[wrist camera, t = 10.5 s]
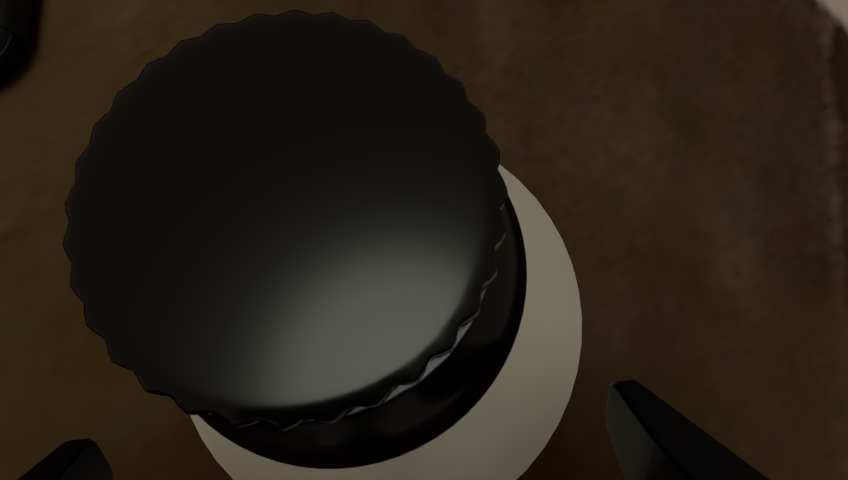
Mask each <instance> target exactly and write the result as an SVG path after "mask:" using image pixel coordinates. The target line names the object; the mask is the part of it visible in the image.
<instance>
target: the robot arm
mask: <svg viewBox="0 0 848 480" xmlns="http://www.w3.org/2000/svg"><path fill="white" fill-rule="evenodd" d="M605 421H606V426H607V429H608V432H609V435H610V438H611V441H612V444H613V447H614V450H615V453H616V456H617V459H618V462H619V465H620V468H621V471H622V474H623V477H624V480H769V479H768V478H767V477H765V476H764V475H762V474H761V473H760V472H758V471H757V470H756V469H754V468H753V467H752V466H750V465H749V464H748V463H746V462H745V461H744V460H742V459H741V458H740V457H738V456H737V455H736V454H734V453H733V452H731V451H730V450H729V449H727V448H726V447H725V446H723V445H722V444H721V443H719V442H718V441H717V440H715V439H714V438H713V437H711V436H710V435H709V434H707V433H706V432H705V431H703V430H702V429H701V428H699V427H698V426H696V425H695V424H694V423H692V422H691V421H690V420H688V419H687V418H686V417H684V416H683V415H682V414H680V413H679V412H678V411H676V410H675V409H674V408H672V407H671V406H670V405H668V404H667V403H665V402H664V401H663V400H661V399H660V398H659V397H657V396H656V395H655V394H653V393H652V392H651V391H649V390H648V389H647V388H645V387H644V386H643V385H641V384H640V383H638V382H636V381H634V380H627V381H618V382H613V383H612V384H611V385H610V388H609V393H608V399H607V405H606V411H605ZM18 480H113V469H112V466H111V464H110V463H109V461H108V459H107V458H106V456H105V454H104V453H103V451H102V449H101V448H100V446H99V444H98V443H97V442H96V441H95V440H93V439H90V438H87V439H78V440H70V441H67V442H65V443H63V444H62V445H60V446H59V447H58V448H56V449H55V450H54V451H53V452H51V453H50V454H49V455H48V456H47V457H45V458H44V459H43V460H42V461H40V462H39V463H38V464H37V465H35V466H34V467H33V468H32V469H30V470H29V471H28V472H27V473H25V474H24V475H23V476H22V477H20V478H19V479H18Z"/></svg>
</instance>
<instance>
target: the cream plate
mask: <svg viewBox="0 0 848 480" xmlns="http://www.w3.org/2000/svg"><path fill="white" fill-rule="evenodd" d="M498 170H499V172H500V174H501V176H502V178H503V180H504V182H505V184H506V187H507V190H508V196H509V198H510V200H511V202H512V204H513V206H514V209H515V212H516V214H517V217H518V220H519V223H520V227H521V231H522V235H523V239H524V246H525V252H526V262H527V289H526V299H525V306H524V312H523V316H522V320H521V324H520V328H519V332H518V334H517V337H516V340H515V343H514V345H513V348H512V350H511V352H510V354H509V357H508V359H507V361H506V363H505V365H504V367H503V368H502V370H501V372H500V373H499V375H498V376H497V378H496V380H495V381H494V383H493V384H492V386H491V387H490V388H489V390H488V391H487V392H486V393H485V395H484V396H483V397H482V399H481V400H480V401H479V402H478V403H477V404H476V405H475V406H474V407H473V408H472V409H471V410H470V411H469V413H468V414H466V415H465V416H464V417H463V418H462V419H461V420H460V421H458V422H457V423H456V424H455V425H454V426H453V427H451V428H450V429H449V430H447V431H446V432H444V433H443V434H441V435H440V436H439V437H437V438H436V439H434V440H432V441H430V442H429V443H427V444H425V445H423V446H422V447H420V448H418V449H416V450H413V451H411V452H409V453H407V454H404V455H402V456H400V457H397V458H394V459H390V460H387V461H384V462H381V463H377V464H372V465H367V466H363V467H356V468H346V469H314V468H305V467H297V466H293V465H288V464H284V463H279V462H276V461H273V460H270V459H267V458H264V457H262V456H259V455H256V454H254V453H252V452H250V451H248V450H246V449H244V448H242V447H240V446H238V445H236V444H235V443H233V442H231V441H230V440H228V439H226V438H225V437H223V436H222V435H221V434H219V433H218V432H217V431H215V430H214V429H213V428H212V427H210V426H209V425H208V424H207V423H206V422H205V421H203V420H202V419H201V418H200V417H199V416H198V415H190V416H191V418H192V420H193V422H194V424H195V426H196V428H197V430H198V432H199V434H200V437H201V438H202V440H203V441H204V443H205V444H206V446H207V447H208V449H209V450H210V452H211V453H212V455H213V456H214V458H215V459H216V461H217V462H218V463H219V464H220V465H221V467H222V468H223V469H224V470H225V471H226V472H227V473H228V474H229V475H230V477H231V478H232V479H233V480H516V479H518V478H519V477H520V476H521V475H522V474H523V473H524V472H525V471H526V470H527V469H528V467H529V466H530V465H531V464H532V462H533V461H534V460H535V459H536V457H537V456H538V455H539V454H540V452H541V451H542V450H543V449H544V447H545V446H546V444H547V442H548V441H549V439H550V437H551V436H552V434H553V432H554V431H555V429H556V427H557V426H558V424H559V422H560V420H561V417H562V415H563V413H564V410H565V408H566V406H567V403H568V401H569V399H570V396H571V393H572V389H573V385H574V382H575V378H576V375H577V371H578V365H579V358H580V350H581V343H582V314H581V306H580V297H579V290H578V286H577V282H576V278H575V274H574V270H573V266H572V263H571V260H570V258H569V255H568V253H567V250H566V248H565V245H564V243H563V240H562V239H561V237H560V235H559V233H558V231H557V229H556V228H555V226H554V224H553V222H552V220H551V219H550V217H549V216H548V214H547V213H546V212H545V210H544V209H543V208H542V206H541V205H540V203H539V202H538V201H537V199H536V198H535V197H534V196H533V195H532V194H531V193H530V192H529V191H528V190H527V189H526V187H525V186H524V185H523V184H522V183H521V182H520V181H519V180H518V179H516V178H515V177H514V176H513V175H512V174H510V173H509V172H508V171H507V170H506V169H504V168H503V167H502V166H501V165H499V167H498Z"/></svg>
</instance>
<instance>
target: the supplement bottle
mask: <svg viewBox="0 0 848 480" xmlns="http://www.w3.org/2000/svg"><path fill="white" fill-rule="evenodd" d="M499 163H500V149H499V148H498V147H497V145H496V144H495V142H494V141H493V140H492V139H491V138H490V137H489V136H488V134H487V133H486V121H485V116H484V113H483V112H481V111H480V110H479V109H478V108H477V107H476V106H474V105H473V104H472V103H471V102H470V101H469V100H468V97H467V94H466V90H465V88H464V85H463V83H462V82H461V81H459V80H458V79H456V78H455V77H452V76H450V75H448V74H447V73H445V72H444V70H443V68H442V66H441V64H440V62H439V61H438V59H437V58H436V56H434V55H431V54H429V53H427V52H424V51H421V50H418V49H416V48H415V47H414V45H413V44H412V43H411V42H410V41H409V40H408V39H407V38H406V37H405V36H404V35H400V34H396V33H389V32H384V31H383V30H382V29H381V28H379V27H378V26H377V25H375V24H374V23H373V22H371V21H368V20H348V19H346V18H345V17H343V16H341V15H338V14H336V13H334V12H328V13H321V14H315V15H312V14H308V13H305V12H302V11H297V10H291V11H288V12H284V13H282V14H279V15H275V16H273V15H265V14H254V15H252V16H249V17H247V18H246V19H244V20H242V21H240V22H238V23H225V24H217V25H215V26H214V27H212V28H211V29H209V30H208V31H207V32H205V33H204V34H203V35H202V36H199V37H194V38H190V39H186V40H182V41H180V42H179V43H178V44H177V45H176V46H175V47H174V48H173V49H172V51H171V52H170V53H169V54H168V55H166V56H164V57H161V58H159V59H157V60H154V61H152V62H150V63H148V64H147V65H146V66H145V67H144V69H143V70H142V72H141V74H140V76H139V77H138V78H137V80H136V81H134V82H132V83H131V84H129V85H128V86H126V87H124V88H123V89H122V90H120V91H119V92H117V95H116V97H115V99H114V101H113V105H112V107H111V109H110V111H109V112H107V113H106V114H105V115H104V116H103V117H102V118H101V119H100V120H98V121H97V122H96V123H95V124H94V125H93V129H92V133H91V138H90V145H89V146H88V147H87V148H86V149H85V151H84V152H83V153H82V154H81V155H80V157H79V158H78V160H77V161H76V162H75V176H76V178H75V184H74V185H73V187H72V189H71V190H70V192H69V194H68V196H67V198H66V200H65V202H64V204H65V210H66V214H67V216H68V221H69V224H68V227H67V231H66V233H65V235H64V239H63V243H62V245H63V248H64V250H65V252H66V254H67V256H68V258H69V259H70V261H71V263H72V269H71V274H70V287H71V288H72V290H73V291H74V293H75V294H76V295H77V296H78V297H79V298H80V299H81V300H82V301H83V302H84V315H85V321H86V326H87V327H88V328H89V329H91V330H92V331H93V332H94V333H96V334H97V335H99V336H100V337H102V338H103V339H104V340H105V343H106V345H107V351H108V354H109V356H110V358H111V361H112V362H113V363H115V364H117V365H119V366H121V367H124V368H126V369H129V370H132V371H133V372H134V373H135V375H136V376H137V378H138V381H139V383H140V384H141V386H142V387H143V388H144V390H145V391H146V392H148V393H152V394H156V395H161V396H170V397H171V398H172V399H173V400H174V401H175V402H176V404H177V406H178V407H180V408H181V409H182V410H183V411H184V412H185V413H186V414H189V415H198V416H199V417H200V418H201V419H202V420H203V421H205V422H206V423H207V424H208V425H209V426H210V427H212V428H213V429H214V430H215V431H217V432H218V433H219V434H221V435H222V436H223V437H225V438H226V439H228V440H230V441H231V442H233V443H235V444H236V445H238V446H240V447H242V448H244V449H246V450H248V451H250V452H252V453H254V454H256V455H259V456H262V457H264V458H267V459H270V460H273V461H276V462H279V463H284V464H288V465H293V466H297V467H305V468H314V469H346V468H356V467H363V466H367V465H372V464H377V463H381V462H384V461H387V460H390V459H394V458H397V457H400V456H402V455H404V454H407V453H409V452H411V451H413V450H416V449H418V448H420V447H422V446H423V445H425V444H427V443H429V442H430V441H432V440H434V439H436V438H437V437H439V436H440V435H441V434H443V433H444V432H446V431H447V430H449V429H450V428H451V427H453V426H454V425H455V424H456V423H457V422H458V421H460V420H461V419H462V418H463V417H464V416H465V415H466V414H468V413H469V411H470V410H471V409H472V408H473V407H474V406H475V405H476V404H477V403H478V402H479V401H480V400H481V399H482V397H483V396H484V395H485V393H486V392H487V391H488V390H489V388H490V387H491V386H492V384H493V383H494V381H495V380H496V378H497V376H498V375H499V373H500V372H501V370H502V368H503V367H504V365H505V363H506V361H507V359H508V357H509V354H510V352H511V350H512V348H513V345H514V343H515V340H516V337H517V334H518V332H519V328H520V324H521V320H522V316H523V312H524V306H525V299H526V289H527V262H526V252H525V246H524V239H523V235H522V231H521V227H520V223H519V220H518V217H517V214H516V212H515V209H514V206H513V204H512V202H511V200H510V198H509V196H508V190H507V187H506V184H505V182H504V180H503V178H502V176H501V174H500V172H499V170H498V167H499Z"/></svg>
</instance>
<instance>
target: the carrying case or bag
mask: <svg viewBox="0 0 848 480" xmlns="http://www.w3.org/2000/svg"><path fill="white" fill-rule="evenodd" d="M31 8H32V0H0V79H2V78H3V77H5V76H7V75H9V74H10V73H11V72H12V71H13V69H14V68H15V66H16V64H17V62H18V59H19V56H20V53H21V48H22V46H27V45H28V44H29V25H30V17H31Z"/></svg>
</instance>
